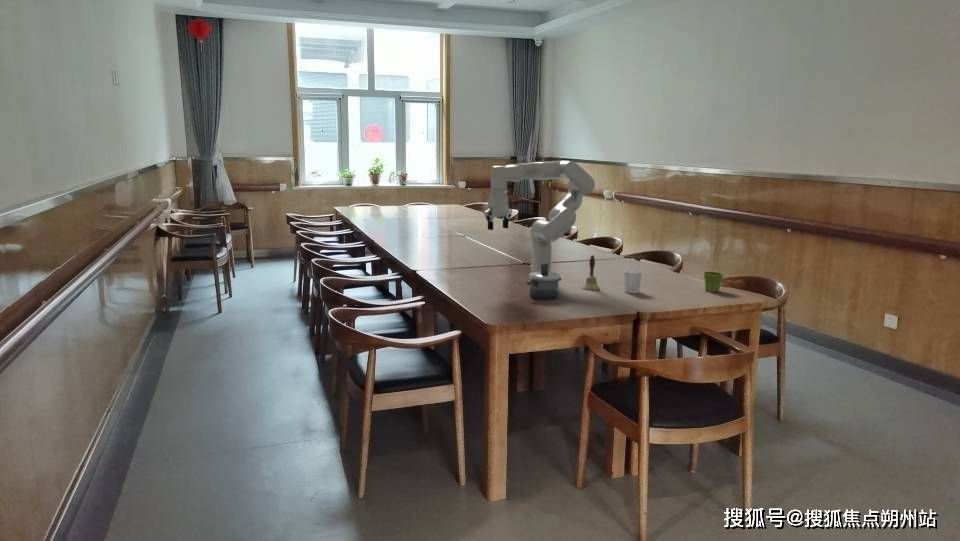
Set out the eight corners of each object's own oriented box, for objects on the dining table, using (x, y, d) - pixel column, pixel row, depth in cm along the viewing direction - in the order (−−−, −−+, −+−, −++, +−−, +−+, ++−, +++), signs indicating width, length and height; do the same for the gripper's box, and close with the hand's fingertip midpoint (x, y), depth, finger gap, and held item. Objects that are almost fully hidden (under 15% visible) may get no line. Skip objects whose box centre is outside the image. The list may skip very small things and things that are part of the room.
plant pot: (724, 290, 308) (725, 272, 307) (720, 294, 300) (721, 276, 299) (704, 288, 313) (705, 270, 311) (699, 291, 305) (701, 273, 303)
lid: (543, 272, 300) (543, 260, 299) (566, 277, 290) (566, 264, 289) (522, 276, 291) (522, 263, 290) (545, 281, 281) (545, 268, 280)
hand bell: (579, 287, 312) (580, 254, 309) (594, 285, 315) (595, 253, 312) (587, 290, 304) (589, 257, 301) (603, 289, 307) (604, 256, 304)
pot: (546, 290, 303) (546, 272, 301) (567, 296, 293) (568, 276, 292) (519, 296, 292) (519, 277, 290) (540, 302, 282) (541, 282, 280)
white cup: (628, 294, 298) (629, 273, 296) (620, 290, 306) (621, 270, 304) (643, 293, 300) (644, 272, 298) (635, 289, 308) (636, 269, 306)
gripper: (506, 191, 309) (505, 226, 312) (479, 192, 298) (479, 229, 301) (517, 192, 304) (516, 228, 307) (490, 193, 292) (489, 231, 296)
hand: (498, 228), depth 304 cm, fingers open, 9 cm apart
